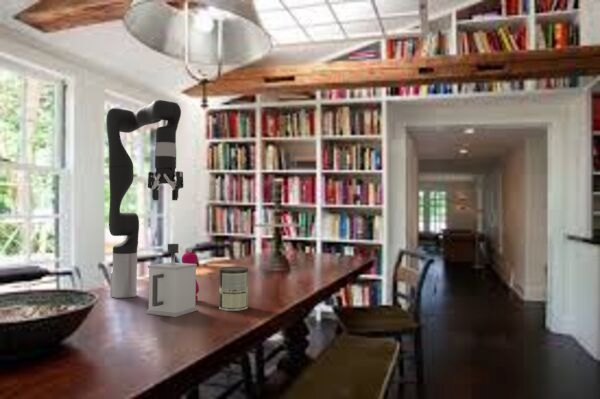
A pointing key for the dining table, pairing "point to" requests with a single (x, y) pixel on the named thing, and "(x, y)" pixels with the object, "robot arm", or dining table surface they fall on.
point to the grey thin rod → (173, 251)
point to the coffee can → (233, 288)
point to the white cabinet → (172, 289)
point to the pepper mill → (191, 259)
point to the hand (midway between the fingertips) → (165, 200)
